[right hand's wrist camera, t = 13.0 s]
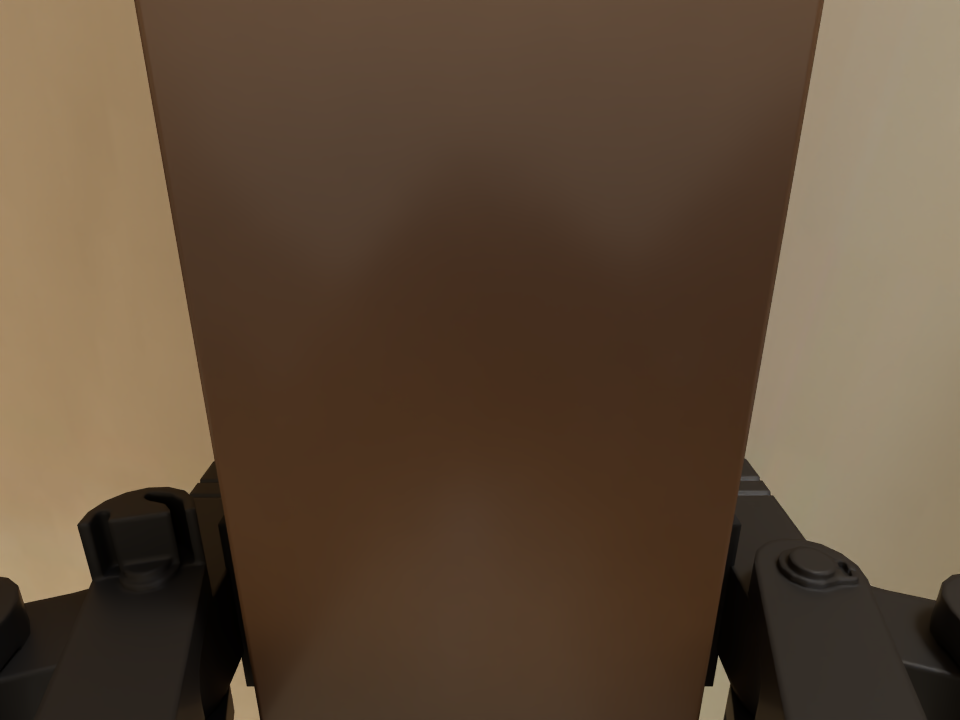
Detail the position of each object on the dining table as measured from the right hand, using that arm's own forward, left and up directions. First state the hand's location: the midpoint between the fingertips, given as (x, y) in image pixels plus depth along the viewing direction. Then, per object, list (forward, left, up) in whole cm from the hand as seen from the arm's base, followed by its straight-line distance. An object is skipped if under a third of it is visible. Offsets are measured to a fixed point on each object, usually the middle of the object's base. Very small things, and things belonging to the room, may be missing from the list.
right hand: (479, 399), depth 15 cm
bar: (+9, +4, -1) cm, 10 cm away
